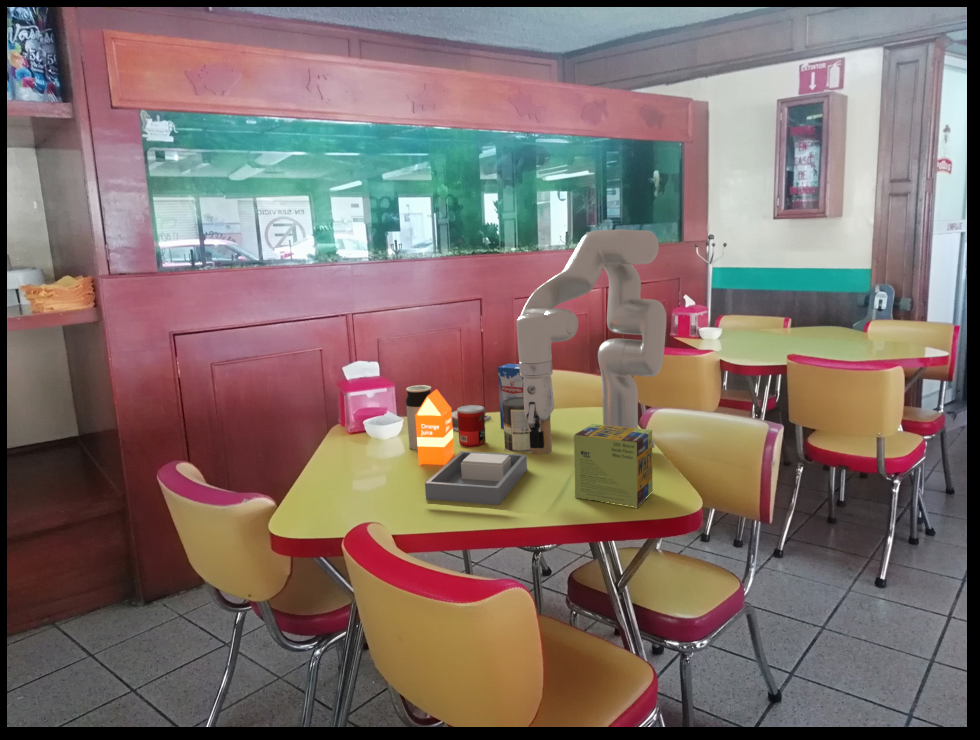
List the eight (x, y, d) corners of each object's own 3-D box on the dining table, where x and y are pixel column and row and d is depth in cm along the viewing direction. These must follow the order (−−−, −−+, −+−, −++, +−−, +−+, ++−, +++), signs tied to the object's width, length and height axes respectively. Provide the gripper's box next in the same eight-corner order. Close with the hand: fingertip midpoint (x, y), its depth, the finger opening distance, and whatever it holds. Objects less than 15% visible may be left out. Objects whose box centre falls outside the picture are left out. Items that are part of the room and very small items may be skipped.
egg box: (511, 472, 177) (510, 454, 176) (503, 481, 170) (502, 463, 169) (471, 469, 180) (470, 452, 179) (461, 478, 174) (460, 461, 173)
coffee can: (497, 451, 198) (495, 403, 195) (517, 441, 206) (514, 395, 203) (527, 456, 192) (525, 407, 189) (546, 446, 200) (545, 398, 197)
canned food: (485, 447, 202) (483, 410, 200) (458, 448, 202) (456, 412, 200) (486, 439, 210) (484, 404, 207) (460, 440, 210) (457, 405, 208)
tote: (527, 473, 178) (526, 454, 177) (499, 509, 156) (498, 488, 155) (462, 469, 184) (461, 451, 183) (426, 503, 162) (424, 482, 161)
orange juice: (454, 457, 194) (450, 388, 190) (446, 468, 185) (441, 396, 182) (428, 457, 196) (423, 388, 192) (418, 467, 187) (413, 395, 183)
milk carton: (537, 426, 221) (534, 365, 217) (527, 431, 216) (525, 369, 212) (510, 423, 226) (507, 363, 222) (500, 428, 221) (497, 367, 217)
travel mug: (429, 451, 201) (425, 391, 197) (404, 449, 203) (400, 390, 200) (440, 443, 208) (436, 385, 205) (416, 441, 211) (412, 384, 207)
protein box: (638, 509, 152) (637, 442, 149) (574, 498, 160) (572, 434, 157) (653, 493, 161) (653, 429, 158) (592, 483, 169) (591, 422, 166)
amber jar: (554, 447, 163) (552, 411, 161) (549, 455, 158) (547, 417, 156) (532, 446, 165) (530, 410, 163) (526, 454, 160) (524, 417, 158)
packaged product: (467, 402, 238) (490, 405, 233) (467, 416, 239) (491, 419, 234) (433, 415, 224) (458, 418, 218) (434, 429, 225) (459, 433, 219)
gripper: (542, 377, 148) (547, 456, 152) (560, 359, 164) (564, 432, 168) (509, 377, 151) (514, 455, 155) (529, 359, 166) (534, 431, 170)
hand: (540, 442), depth 161 cm, fingers closed on amber jar, 5 cm apart
